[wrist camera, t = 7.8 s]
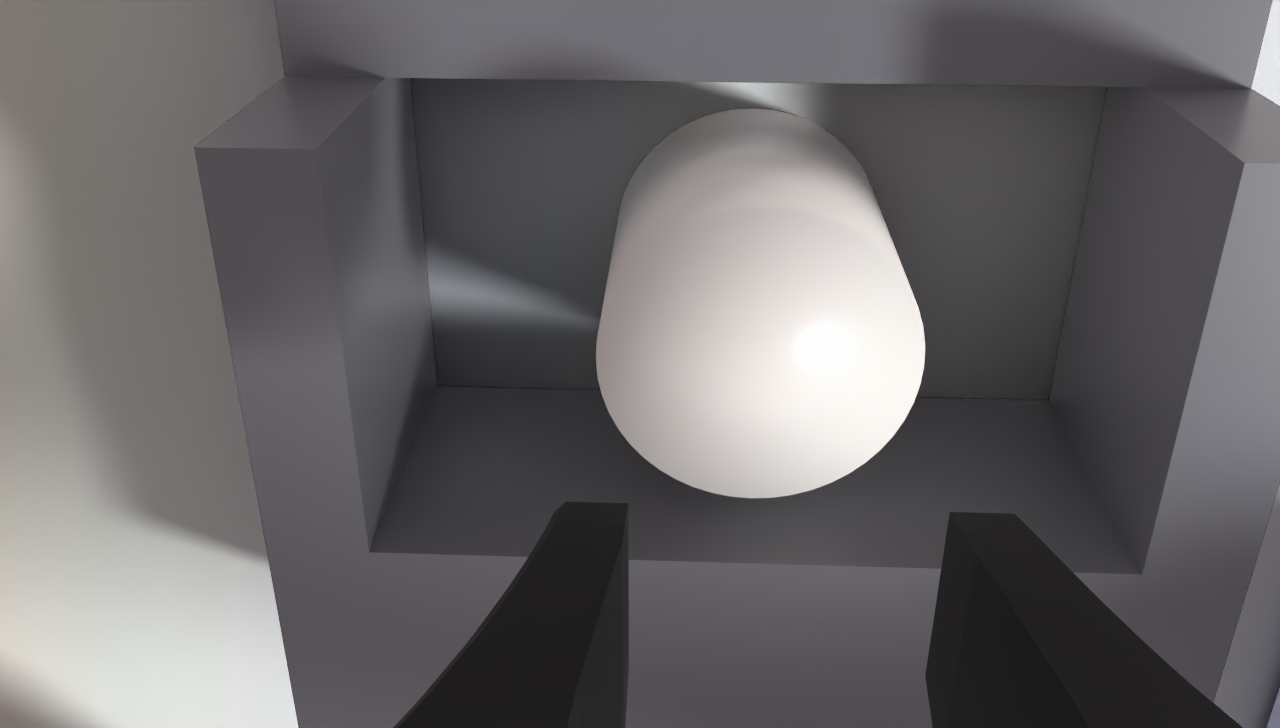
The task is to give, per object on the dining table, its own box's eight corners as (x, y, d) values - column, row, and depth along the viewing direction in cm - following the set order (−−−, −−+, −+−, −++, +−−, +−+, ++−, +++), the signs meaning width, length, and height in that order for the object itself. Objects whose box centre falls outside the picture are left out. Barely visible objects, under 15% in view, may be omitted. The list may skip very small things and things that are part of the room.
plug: (891, 109, 19) (944, 209, 15) (866, 354, 21) (907, 502, 17) (616, 105, 19) (592, 204, 15) (618, 349, 21) (598, 494, 17)
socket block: (1241, -74, 17) (1430, -13, 13) (1084, 622, 23) (1175, 828, 19) (297, -80, 18) (163, -25, 13) (383, 601, 24) (310, 796, 19)
